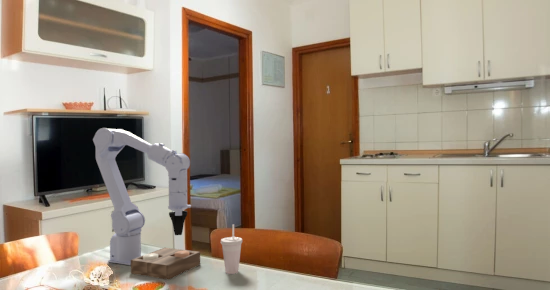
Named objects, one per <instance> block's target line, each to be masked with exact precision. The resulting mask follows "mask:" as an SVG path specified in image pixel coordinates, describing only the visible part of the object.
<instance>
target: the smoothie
mask: <svg viewBox="0 0 550 290" xmlns="http://www.w3.org/2000/svg"><path fill="white" fill-rule="evenodd" d="M231 225H232V228H231V229H232V233H231V236H229V237H227V236H226V237H224V238H223V237H222V238H221V239H220V244H221V247H222V249H221V250H222V255H223V262H224V268H225V269H224V271H225V273H226V274H227V275H236V274H238V273H239V268H240V261H241V249H242V243H243V238H242V237H238V236H235V224H231ZM235 273H236V274H235Z"/></svg>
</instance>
